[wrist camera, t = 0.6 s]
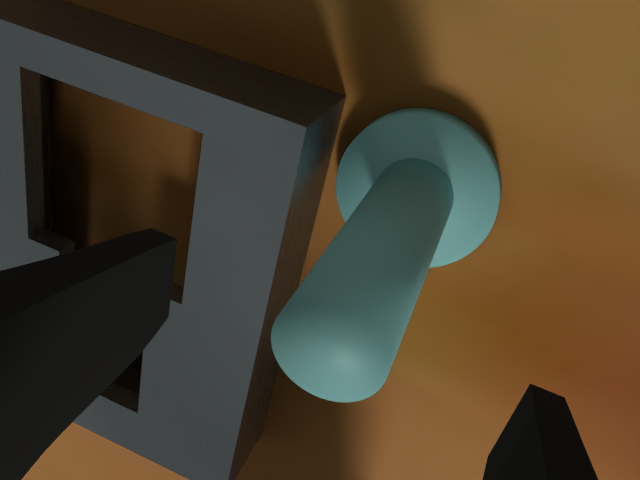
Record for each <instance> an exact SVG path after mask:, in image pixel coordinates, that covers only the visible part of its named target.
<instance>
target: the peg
mask: <svg viewBox="0 0 640 480" xmlns="http://www.w3.org/2000/svg"><path fill="white" fill-rule="evenodd" d="M501 186H502V184H501V174H500V170H499V166H498V163H497V160H496V158H495V155H494V153H493V151H492V150H491V148H490V146H489V145H488V143H487V142H486V141H485V139H484V138H483V137H482V136H481V135H480V134H479V133H478V132H477V131H476V130H475V129H474V128H473V127H472V126H470V125H469V124H468V123H466V122H465V121H463V120H461V119H460V118H458V117H456V116H454V115H451V114H449V113H446V112H443V111H440V110H436V109H430V108H407V109H400V110H397V111H393V112H390V113H388V114H386V115H383V116H381V117H379V118H378V119H376V120H374V121H373V122H372V123H370V124H369V125H368V126H367V127H365V129H364V130H363V131H362V132H361V133H360V134H359V135H358V136H357V137H356V138H355V139H354V140H353V141H352V142H351V143H350V145H349V146H348V148H347V149H346V151H345V153H344V155H343V157H342V159H341V161H340V164H339V167H338V172H337V177H336V194H337V200H338V205H339V208H340V211H341V214H342V216H343V218H344V220H345V222H346V223H345V224H344V225H343V227H342V228H341V230H340V231H339V232H338V234H337V235H336V236H335V238H334V239H333V241H332V242H331V243H330V245H329V246H328V247H327V249H326V250H325V251H324V253H323V254H322V256H321V257H320V258H319V260H318V261H317V262H316V264H315V265H314V267H313V268H312V269H311V271H310V272H309V273H308V275H307V276H306V278H305V279H304V280H303V282H302V283H301V284H300V286H299V287H298V289H297V290H296V291H295V293H294V294H293V295H292V297H291V298H290V300H289V301H288V302H287V304H286V305H285V306H284V308H283V309H282V311H281V312H280V313H279V315H278V316H277V317H276V319H275V321H274V323H273V327H272V331H271V344H272V349H273V353H274V356H275V358H276V360H277V362H278V364H279V365H280V367H281V368H282V370H283V371H284V373H285V374H286V375H287V376H288V377H289V378H290V379H291V380H292V381H293V382H294V383H295V384H297V385H298V386H299V387H301V388H302V389H304V390H305V391H307V392H309V393H311V394H313V395H315V396H317V397H320V398H322V399H326V400H329V401H335V402H355V401H360V400H363V399H366V398H368V397H370V396H372V395H373V394H375V393H376V392H377V391H378V390H379V389H381V387H382V386H383V385H384V383H385V381H386V379H387V377H388V374H389V372H390V369H391V366H392V364H393V361H394V359H395V356H396V353H397V351H398V348H399V346H400V343H401V340H402V338H403V335H404V332H405V330H406V327H407V325H408V322H409V319H410V317H411V314H412V312H413V309H414V306H415V304H416V301H417V298H418V296H419V293H420V291H421V288H422V285H423V283H424V280H425V278H426V275H427V272H428V270H429V268H431V267H438V266H443V265H446V264H450V263H452V262H455V261H457V260H460V259H461V258H463V257H465V256H467V255H468V254H469V253H471V252H472V251H473V250H475V249H476V248H477V247H478V246H479V245H480V244H481V243H482V242H483V241H484V239H485V238H486V236H487V235H488V234H489V232H490V230H491V228H492V226H493V224H494V222H495V219H496V216H497V212H498V207H499V203H500V198H501Z"/></svg>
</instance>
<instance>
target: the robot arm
mask: <svg viewBox="0 0 640 480" xmlns="http://www.w3.org/2000/svg"><path fill="white" fill-rule="evenodd" d="M176 244H177V239H176V238H173V237H171V236H168V235H166V234H163V233H161V232H158V231H156V230H154V229H151V228H150V229H146V230H142V231H138V232H135V233H131V234H128V235H124V236H121V237H118V238H114V239H111V240H108V241H105V242H101V243H98V244H95V245H92V246H88V247H85V248H82V249H78V250H75V251H72V252H68V253H65V254H62V255H58V256H55V257H51V258H48V259H44V260H40V261H36V262H32V263H29V264H25V265H21V266H17V267H13V268H9V269H5V270H1V271H0V480H21V479H22V478H23V477H24V476H25V474H26V473H27V472H28V471H29V469H30V468H31V467H32V466H33V465H34V463H35V462H36V461H37V460H38V459H39V457H40V456H41V455H42V454H43V453H44V451H45V450H46V449H47V448H48V447H49V446H50V445H51V444H52V443H53V442H54V441H55V439H56V438H57V437H58V436H59V435H60V434H61V433H62V432H63V431H64V430H65V429H66V428H67V427H68V426H69V425H70V424H71V423H72V422H73V421H74V420H75V419H76V418H77V417H78V416H79V415H80V414H81V413H82V412H83V411H84V410H85V409H86V408H87V407H88V406H89V405H90V404H91V403H92V402H93V401H94V400H95V399H96V398H97V397H98V396H99V395H100V394H101V393H102V392H103V391H104V390H105V389H106V388H107V387H108V386H109V385H110V384H111V383H112V382H113V381H114V380H115V379H116V378H117V377H118V376H119V375H120V374H121V373H122V372H123V371H124V370H125V369H126V368H127V367H128V366H129V365H130V364H131V363H132V362H133V361H134V360H135V359H136V358H137V357H138V356H139V355H140V354H141V352H142V351H143V350H144V349H145V347H146V346H147V345H148V344H149V342H150V341H151V340H152V339H153V337H154V336H155V335H156V333H157V332H158V330H159V329H160V328H161V326H162V325H163V324H164V322H165V321H166V320H167V318H168V317H169V309H170V299H171V290H172V281H173V272H174V262H175V253H176ZM483 480H598V478H597V476H596V473H595V471H594V469H593V466H592V464H591V461H590V459H589V457H588V454H587V452H586V449H585V447H584V444H583V442H582V439H581V437H580V434H579V432H578V429H577V427H576V424H575V422H574V419H573V417H572V414H571V412H570V409H569V407H568V405H567V402H566V400H565V398H564V397H562V396H559V395H557V394H554V393H552V392H549V391H547V390H545V389H542V388H540V387H537V386H535V385H532V384H530V385H529V387H528V389H527V390H526V392H525V394H524V395H523V397H522V399H521V401H520V402H519V404H518V406H517V408H516V409H515V411H514V413H513V414H512V416H511V418H510V420H509V421H508V423H507V425H506V426H505V428H504V430H503V432H502V433H501V435H500V437H499V439H498V440H497V442H496V444H495V445H494V447H493V449H492V451H491V452H490V454H489V456H488V459H487V463H486V467H485V472H484V476H483Z"/></svg>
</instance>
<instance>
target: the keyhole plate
mask: <svg viewBox="0 0 640 480" xmlns="http://www.w3.org/2000/svg"><path fill="white" fill-rule="evenodd" d="M50 77H51V78H53V79H56V80H59V81H61V82H64V83H67V84H70V85H72V86H75V87H78V88H80V89H83V90H86V91H89V92H91V93H94V94H97V95H99V96H102V97H105V98H108V99H110V100H113V101H116V102H118V103H121V104H124V105H127V106H129V107H132V108H135V109H137V110H140V111H143V112H146V113H148V114H151V115H154V116H156V117H159V118H162V119H165V120H167V121H170V122H173V123H175V124H178V125H181V126H184V127H186V128H189V129H192V130H194V131H197V132H200V133H203V137H202V145H201V153H200V161H199V169H198V177H197V185H196V193H195V201H194V209H193V217H192V225H191V234H190V242H189V250H188V258H187V266H186V274H185V282H184V288H183V287H180V286H178V285H176V284H173V283H172V290H171V299H170V309H169V317H168V318H167V320H166V321H165V322H164V324H163V325H162V326H161V328H160V329H159V330H158V332H157V333H156V335H155V336H154V337H153V339H152V340H151V341H150V342H149V344H148V345H147V346H146V347H145V349H144V350H143V357H142V365H141V364H139V363H136V362H134V361H133V362H132V363H131V364H130V365H129V366H128V367H127V368H126V369H125V370H124V371H123V372H122V373H121V374H120V375H119V376H118V377H117V378H116V379H115V380H114V381H113V382H112V383H111V384H110V385H109V386H108V387H107V388H106V389H105V390H104V391H103V392H102V393H101V394H100V395H99V396H98V397H97V398H96V399H95V400H94V401H93V402H92V403H91V404H90V405H89V406H88V407H87V408H86V409H85V410H84V411H83V412H82V413H81V414H80V415H79V416H78V417H77V418H76V419H75V420H74V421H73V422H74V423H76V424H78V425H80V426H82V427H84V428H86V429H88V430H90V431H92V432H94V433H96V434H98V435H100V436H102V437H104V438H106V439H108V440H110V441H112V442H114V443H117V444H119V445H121V446H123V447H125V448H127V449H129V450H131V451H133V452H135V453H137V454H139V455H141V456H143V457H145V458H147V459H149V460H151V461H153V462H155V463H157V464H159V465H161V466H163V467H165V468H167V469H169V470H171V471H173V472H175V473H177V474H179V475H181V476H183V477H185V478H188V479H190V480H235V478H236V476H237V475H238V473H239V471H240V470H241V468H242V466H243V464H244V463H245V461H246V459H247V458H248V456H249V454H250V453H251V451H252V449H253V448H254V446H255V444H256V442H257V441H258V439H259V437H260V435H261V431H262V427H263V423H264V419H265V415H266V411H267V407H268V403H269V400H270V396H271V392H272V388H273V384H274V380H275V376H276V372H277V368H278V362H277V360H276V358H275V356H274V353H273V349H272V344H271V331H272V327H273V323H274V321H275V319H276V317H277V316H278V315H279V313H280V312H281V311H282V309H283V308H284V306H285V305H286V304H287V302H288V301H289V300H290V298H291V297H292V295H293V294H294V293H295V291H296V290H297V289H298V285H299V281H300V277H301V273H302V269H303V265H304V261H305V257H306V253H307V249H308V245H309V241H310V237H311V233H312V230H313V226H314V222H315V218H316V214H317V210H318V206H319V202H320V198H321V194H322V190H323V186H324V182H325V178H326V174H327V170H328V166H329V162H330V158H331V154H332V150H333V146H334V143H335V139H336V135H337V131H338V127H339V123H340V119H341V115H342V111H343V107H344V103H345V99H346V96H343V95H340V94H337V93H334V92H331V91H328V90H325V89H322V88H320V87H317V86H314V85H311V84H308V83H305V82H302V81H299V80H296V79H293V78H290V77H287V76H284V75H281V74H278V73H275V72H272V71H269V70H266V69H263V68H260V67H257V66H254V65H252V64H249V63H246V62H243V61H240V60H237V59H234V58H231V57H228V56H225V55H222V54H219V53H216V52H213V51H210V50H207V49H204V48H201V47H198V46H195V45H192V44H189V43H186V42H184V41H181V40H178V39H175V38H172V37H169V36H166V35H163V34H160V33H157V32H154V31H151V30H148V29H145V28H142V27H139V26H136V25H133V24H130V23H127V22H124V21H121V20H118V19H116V18H113V17H110V16H107V15H104V14H101V13H98V12H95V11H92V10H89V9H86V8H83V7H80V6H77V5H74V4H71V3H68V2H65V1H62V0H0V271H1V270H5V269H9V268H13V267H17V266H21V265H25V264H29V263H32V262H36V261H40V260H44V259H48V258H51V257H55V256H58V255H62V254H65V253H68V252H72V251H75V241H72V240H70V239H68V238H65V237H63V236H61V235H58V234H56V233H54V232H53V189H52V144H51V99H50Z"/></svg>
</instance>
